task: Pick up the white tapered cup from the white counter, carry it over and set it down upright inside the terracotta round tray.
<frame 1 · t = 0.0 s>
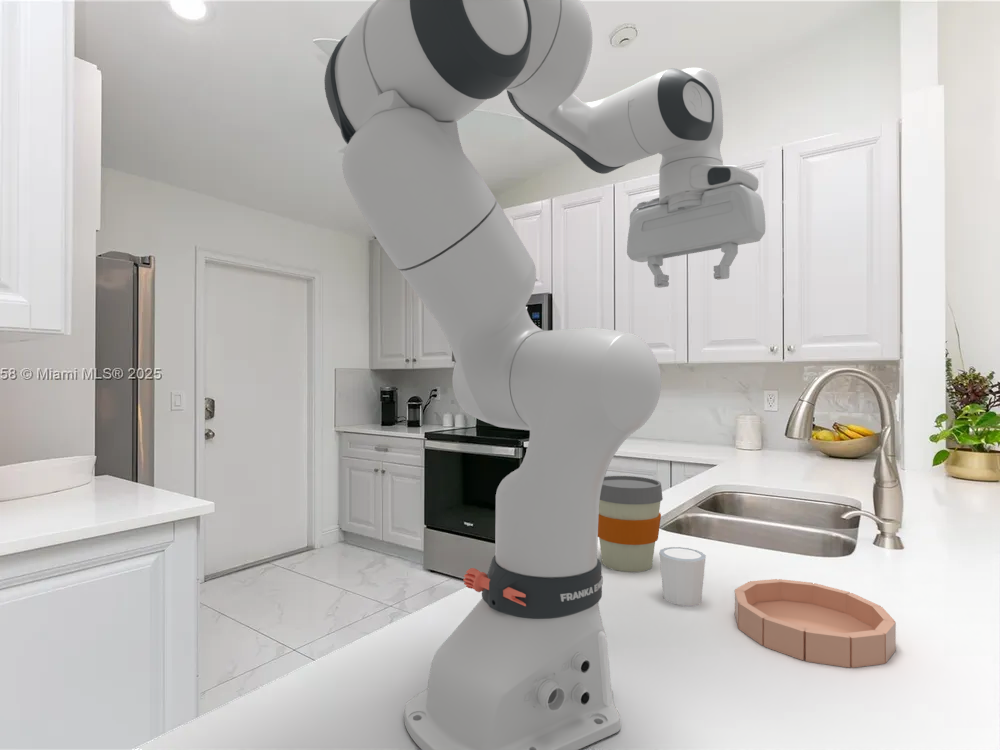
hand: (690, 283, 80), 48 cm above the countertop, fingers open, 8 cm apart
white tapered cup: (682, 599, 84), on the countertop
reusable coffee cup: (626, 564, 100), on the countertop
terracotta round tray: (809, 630, 73), on the countertop
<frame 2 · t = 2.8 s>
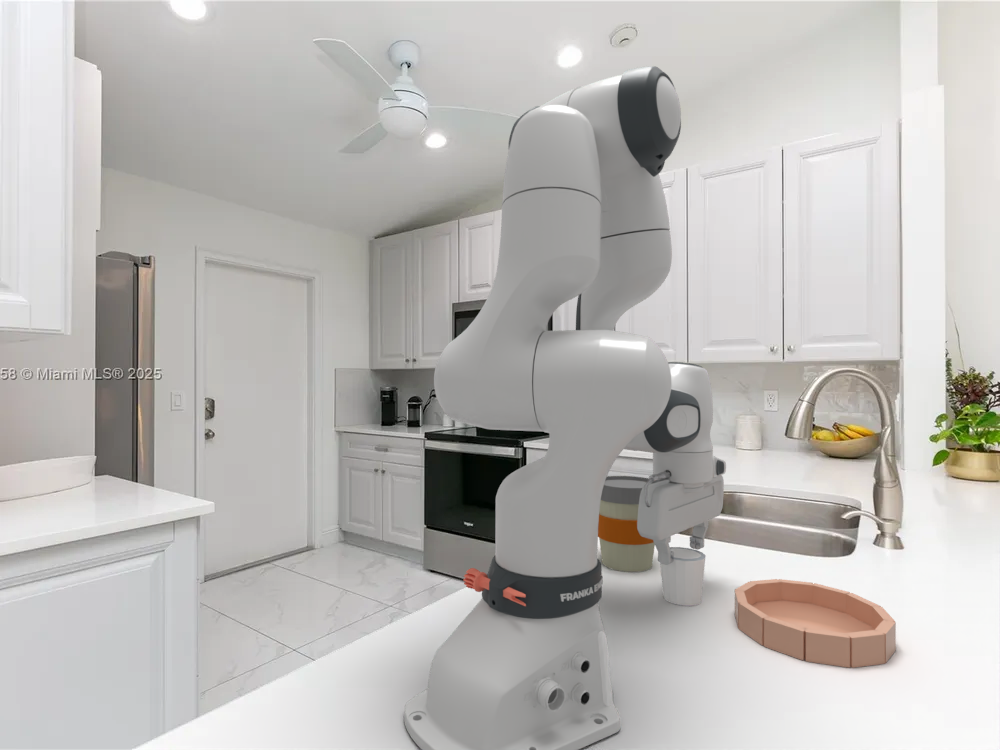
hand: (682, 555, 85), 6 cm above the countertop, fingers open, 8 cm apart
white tapered cup: (682, 599, 84), on the countertop, touching gripper
everything else where it was.
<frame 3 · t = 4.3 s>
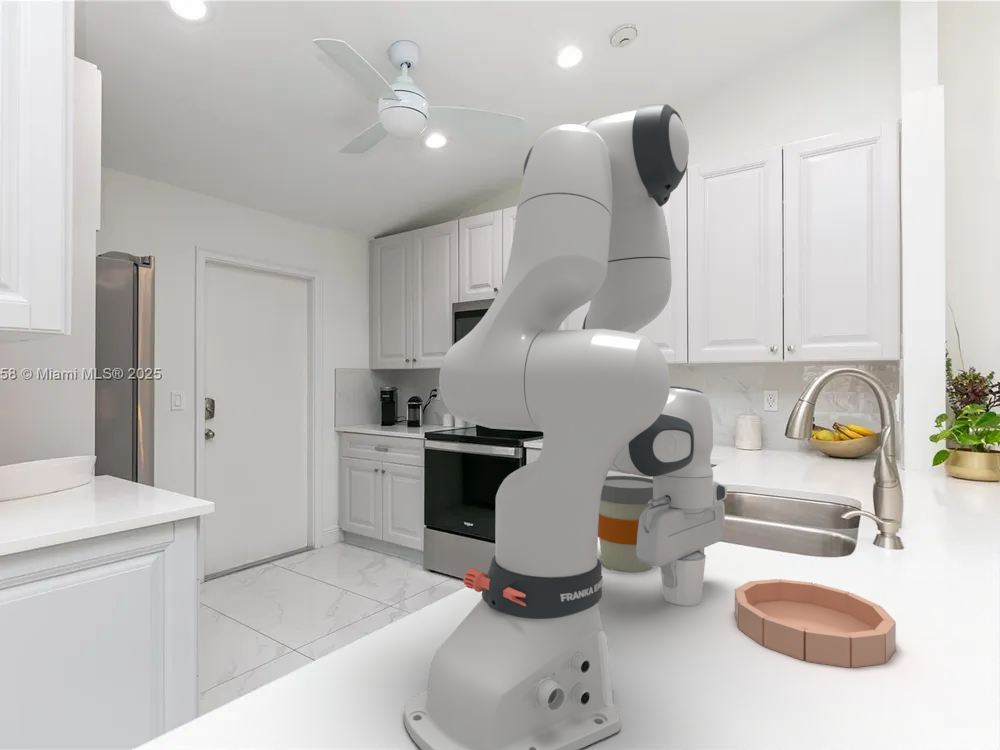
hand: (682, 581, 84), 3 cm above the countertop, fingers closed on white tapered cup, 5 cm apart
white tapered cup: (682, 599, 84), on the countertop, touching gripper
everything else where it was.
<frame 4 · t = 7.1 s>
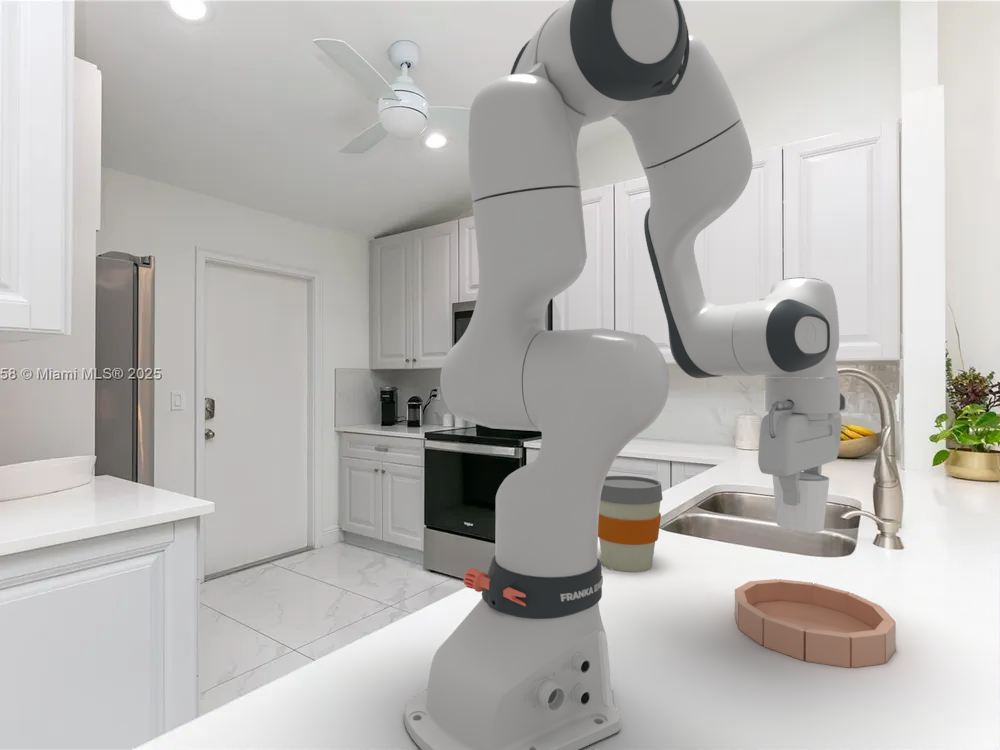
hand: (800, 500, 74), 17 cm above the countertop, fingers closed on white tapered cup, 5 cm apart
white tapered cup: (799, 527, 74), point 14 cm above the countertop, touching gripper
everything else where it was.
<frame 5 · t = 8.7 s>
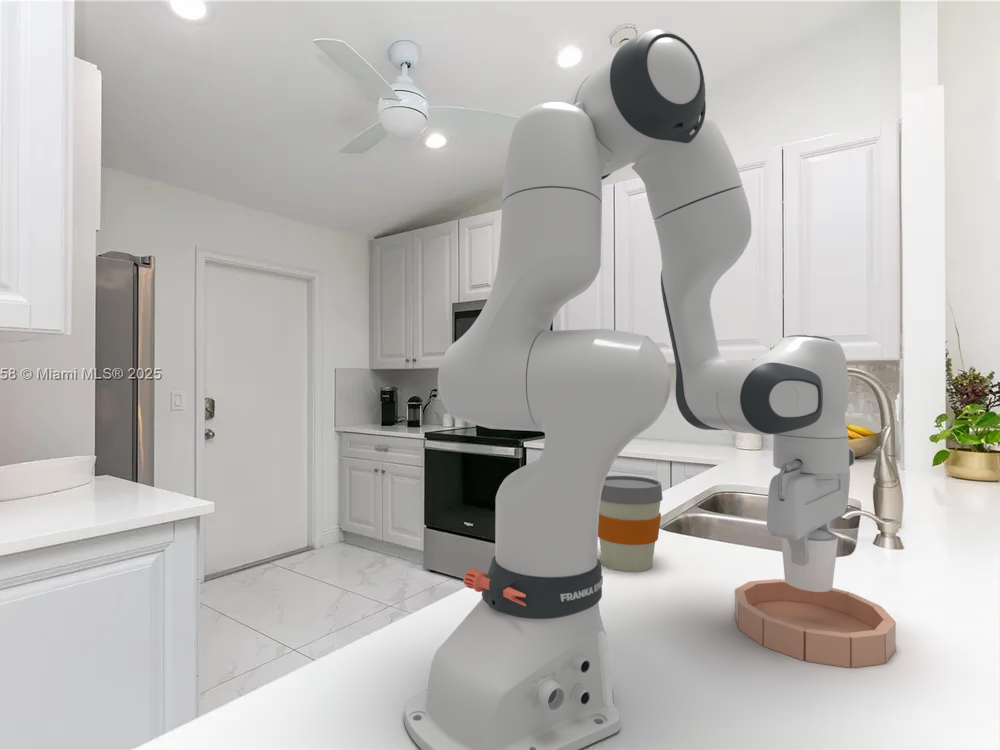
hand: (809, 558, 73), 10 cm above the countertop, fingers closed on white tapered cup, 5 cm apart
white tapered cup: (807, 584, 74), point 6 cm above the countertop, touching gripper
everything else where it was.
when the fingers open (5 cm above the countertop, at t = 10.2 s): white tapered cup stays where it is, resting on terracotta round tray.
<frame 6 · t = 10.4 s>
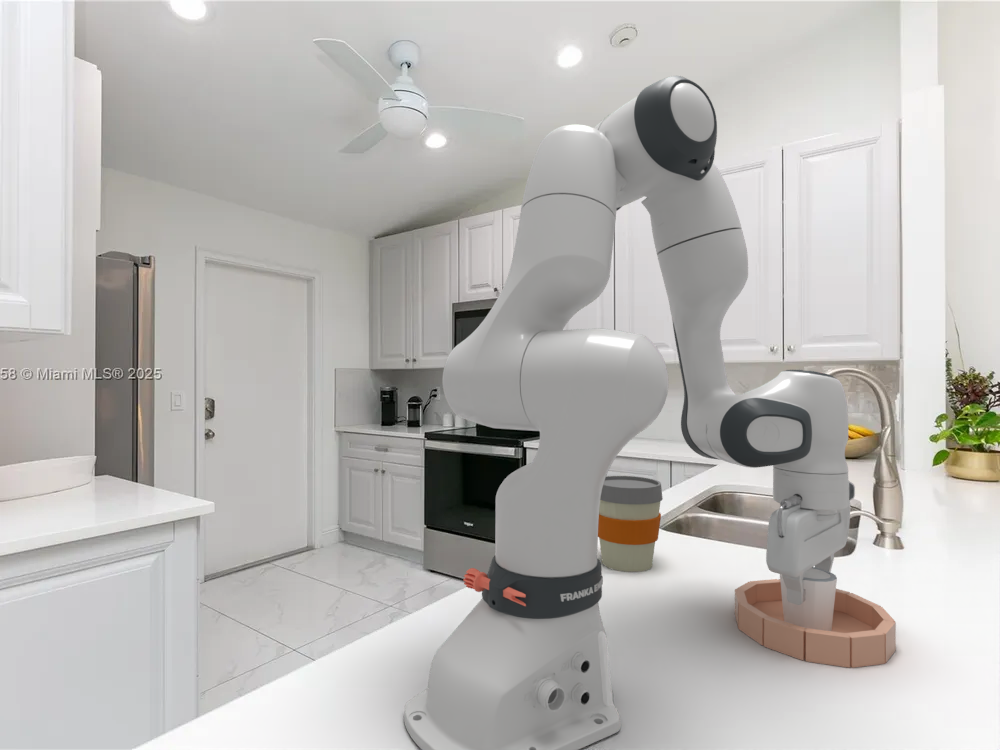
hand: (809, 592, 73), 5 cm above the countertop, fingers open, 8 cm apart
white tapered cup: (807, 625, 73), point 1 cm above the countertop, touching terracotta round tray
everything else where it was.
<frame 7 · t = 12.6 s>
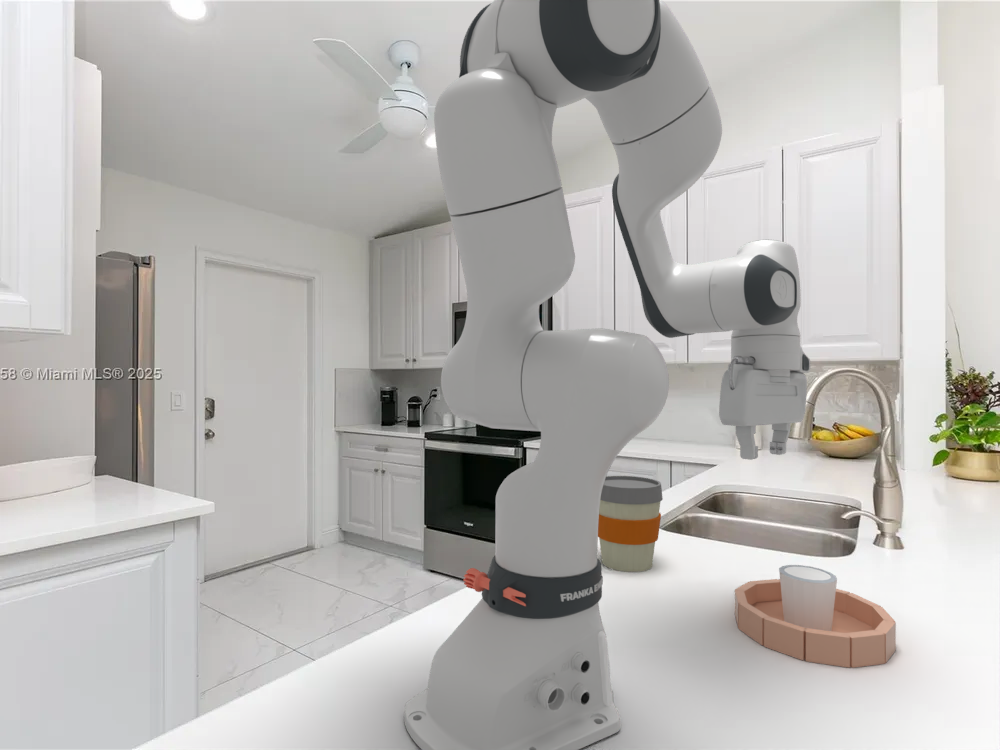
hand: (764, 456, 76), 23 cm above the countertop, fingers open, 8 cm apart
nothing on the countertop moved.
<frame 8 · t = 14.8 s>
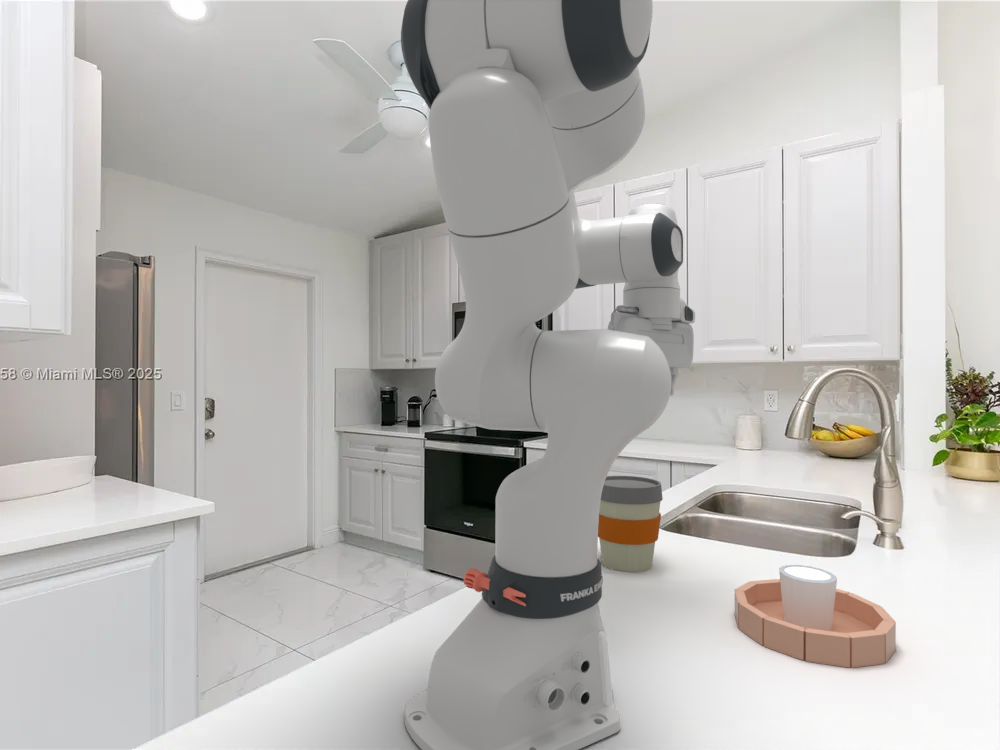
hand: (651, 396, 87), 31 cm above the countertop, fingers open, 8 cm apart
nothing on the countertop moved.
at the end: white tapered cup inside the target area on the terracotta round tray (0.3 cm from its centre), point 0.6 cm above the terracotta round tray's base; white tapered cup tilted 0°; the gripper is holding nothing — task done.
